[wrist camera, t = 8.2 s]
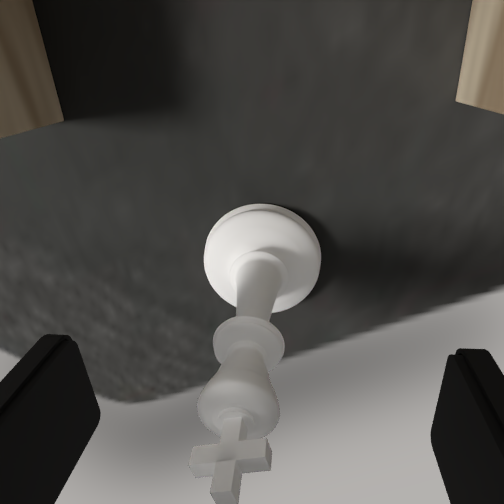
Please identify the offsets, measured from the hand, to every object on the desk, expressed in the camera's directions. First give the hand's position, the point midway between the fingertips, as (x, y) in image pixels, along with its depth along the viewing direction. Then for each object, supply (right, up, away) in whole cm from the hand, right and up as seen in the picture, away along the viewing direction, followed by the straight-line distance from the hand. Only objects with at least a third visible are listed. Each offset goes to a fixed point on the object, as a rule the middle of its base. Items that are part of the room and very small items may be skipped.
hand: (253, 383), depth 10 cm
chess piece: (0, +3, +7) cm, 7 cm away
